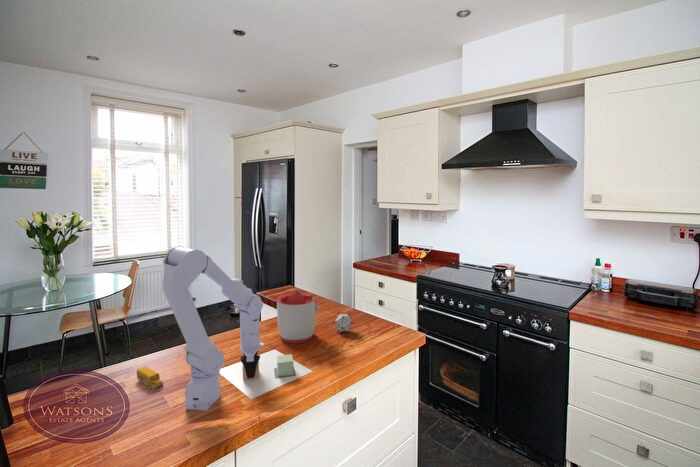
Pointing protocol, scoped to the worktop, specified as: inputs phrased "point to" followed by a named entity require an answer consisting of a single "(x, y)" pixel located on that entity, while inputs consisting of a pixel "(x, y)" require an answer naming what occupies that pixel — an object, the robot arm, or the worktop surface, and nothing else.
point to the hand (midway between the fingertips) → (251, 373)
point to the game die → (343, 322)
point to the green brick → (285, 365)
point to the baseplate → (262, 375)
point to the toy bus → (149, 378)
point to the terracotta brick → (255, 373)
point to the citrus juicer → (296, 316)
